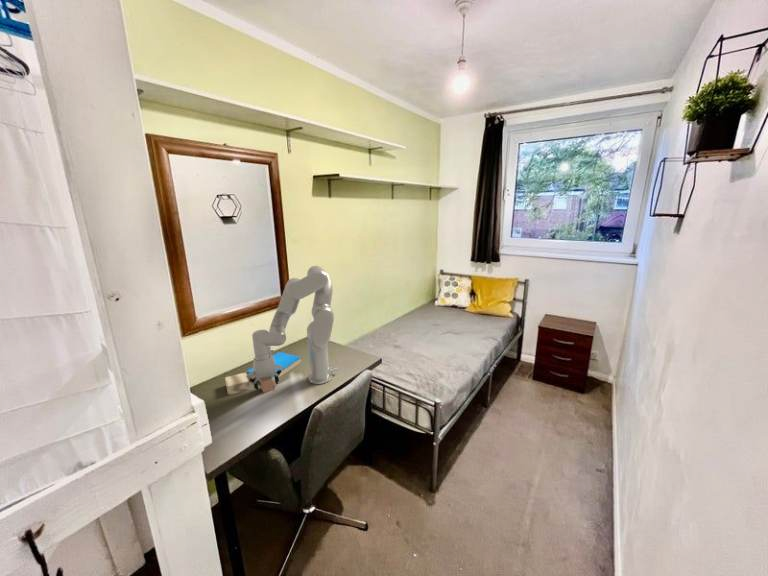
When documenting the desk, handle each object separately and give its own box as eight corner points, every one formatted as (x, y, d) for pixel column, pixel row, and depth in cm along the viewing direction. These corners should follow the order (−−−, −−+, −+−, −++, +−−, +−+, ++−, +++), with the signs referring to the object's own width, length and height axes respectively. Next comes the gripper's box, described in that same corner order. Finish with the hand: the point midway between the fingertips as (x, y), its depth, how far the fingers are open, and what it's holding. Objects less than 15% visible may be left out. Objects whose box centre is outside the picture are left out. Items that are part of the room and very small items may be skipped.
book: (301, 356, 187) (270, 377, 165) (301, 363, 188) (270, 384, 166) (278, 351, 194) (245, 370, 172) (278, 358, 195) (246, 377, 173)
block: (271, 385, 165) (269, 374, 163) (273, 389, 161) (272, 379, 159) (261, 388, 162) (259, 377, 161) (263, 392, 158) (262, 382, 157)
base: (247, 380, 170) (246, 372, 168) (249, 389, 161) (248, 381, 160) (226, 386, 165) (225, 377, 164) (228, 395, 157) (226, 386, 155)
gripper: (278, 347, 164) (281, 377, 169) (242, 356, 155) (247, 388, 159) (283, 353, 158) (286, 383, 163) (246, 363, 149) (250, 395, 153)
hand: (266, 386), depth 161 cm, fingers open, 9 cm apart
